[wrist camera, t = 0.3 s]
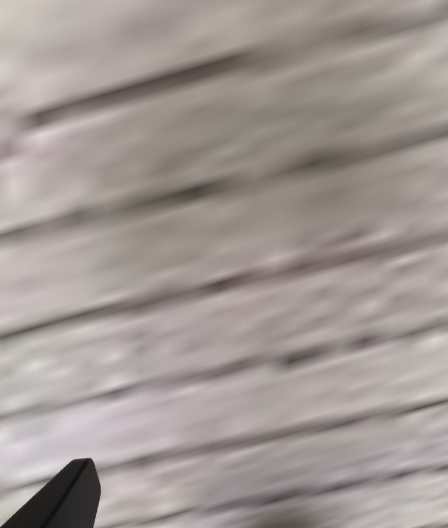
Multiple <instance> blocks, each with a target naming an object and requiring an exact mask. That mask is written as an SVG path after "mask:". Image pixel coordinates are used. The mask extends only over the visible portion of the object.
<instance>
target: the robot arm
mask: <svg viewBox="0 0 448 528" xmlns="http://www.w3.org/2000/svg"><path fill="white" fill-rule="evenodd" d="M100 495H101V486H100V482H99V478H98V475H97V471H96V468H95V464H94V462H93V460H92V459H91V458H82V459H75V460H72V461H71V462H70V463H68V464H67V465H66V466H65V467H64V468H63V469H62V470H61V471H60V472H59V473H58V474H57V475H56V476H55V477H53V478H52V479H51V480H50V481H49V482H48V483H47V484H46V485H45V486H44V487H43V488H42V489H41V490H40V491H38V492H37V493H36V494H35V495H34V496H33V497H32V498H31V499H30V500H29V501H28V502H27V503H26V504H24V505H23V506H22V507H21V508H20V509H19V510H18V511H17V512H16V513H15V514H14V515H13V516H12V517H11V518H9V519H8V520H7V521H6V522H5V523H4V524H3V525H2V526H1V527H0V528H93V526H94V522H95V518H96V513H97V509H98V505H99V500H100Z"/></svg>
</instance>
